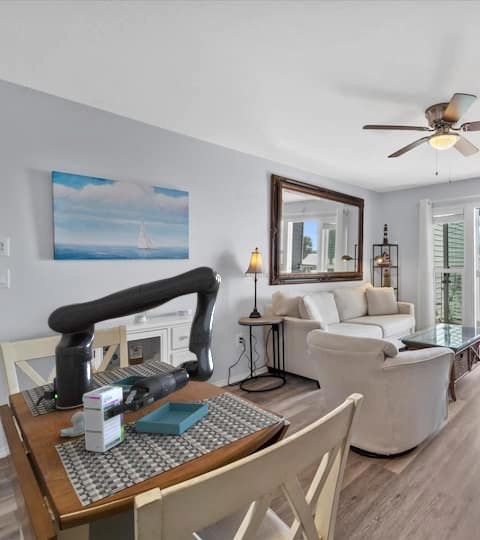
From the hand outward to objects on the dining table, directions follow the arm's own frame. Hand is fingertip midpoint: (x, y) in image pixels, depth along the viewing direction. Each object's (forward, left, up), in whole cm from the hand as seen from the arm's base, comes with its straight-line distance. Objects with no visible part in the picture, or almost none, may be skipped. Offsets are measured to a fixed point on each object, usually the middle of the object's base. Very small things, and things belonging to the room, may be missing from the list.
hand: (96, 411), depth 83 cm
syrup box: (0, +2, -10) cm, 10 cm away
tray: (+9, +16, -10) cm, 21 cm away
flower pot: (-11, +23, -10) cm, 27 cm away
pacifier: (-13, +6, -10) cm, 17 cm away
